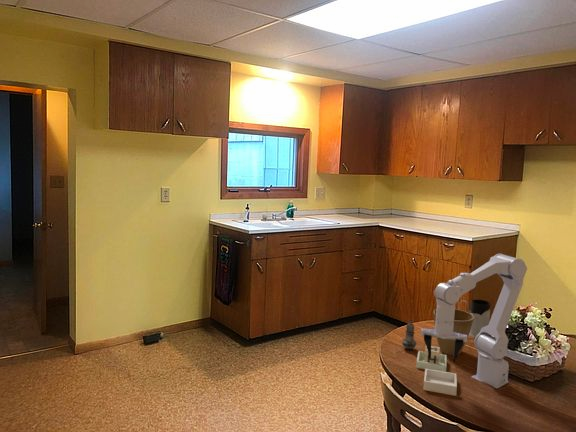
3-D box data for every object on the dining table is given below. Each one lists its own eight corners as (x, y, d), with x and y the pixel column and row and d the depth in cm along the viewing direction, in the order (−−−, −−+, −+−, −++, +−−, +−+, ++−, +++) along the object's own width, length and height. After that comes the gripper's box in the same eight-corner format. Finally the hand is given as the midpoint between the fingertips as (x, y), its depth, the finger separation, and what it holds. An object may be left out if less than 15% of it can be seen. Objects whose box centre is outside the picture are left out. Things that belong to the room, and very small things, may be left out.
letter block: (424, 360, 175) (425, 344, 174) (438, 362, 173) (439, 346, 172) (424, 366, 170) (425, 349, 169) (438, 368, 168) (439, 352, 167)
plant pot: (423, 351, 185) (426, 312, 183) (443, 342, 195) (446, 305, 193) (458, 364, 174) (461, 322, 172) (477, 354, 184) (480, 315, 182)
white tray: (455, 382, 159) (456, 373, 159) (456, 395, 150) (456, 386, 149) (424, 376, 163) (425, 368, 162) (423, 389, 153) (423, 381, 153)
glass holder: (483, 340, 199) (486, 306, 197) (452, 330, 209) (455, 298, 207) (492, 335, 205) (495, 302, 203) (462, 326, 215) (464, 295, 213)
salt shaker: (416, 353, 182) (418, 324, 181) (401, 352, 183) (403, 322, 182) (415, 348, 188) (417, 319, 186) (400, 346, 189) (402, 318, 188)
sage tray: (445, 362, 175) (446, 355, 174) (445, 374, 165) (446, 366, 165) (417, 358, 178) (418, 350, 178) (416, 369, 168) (416, 361, 168)
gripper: (421, 320, 152) (418, 360, 154) (468, 326, 147) (465, 367, 149) (422, 314, 159) (419, 352, 160) (467, 319, 154) (464, 359, 156)
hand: (441, 359), depth 155 cm, fingers open, 7 cm apart
